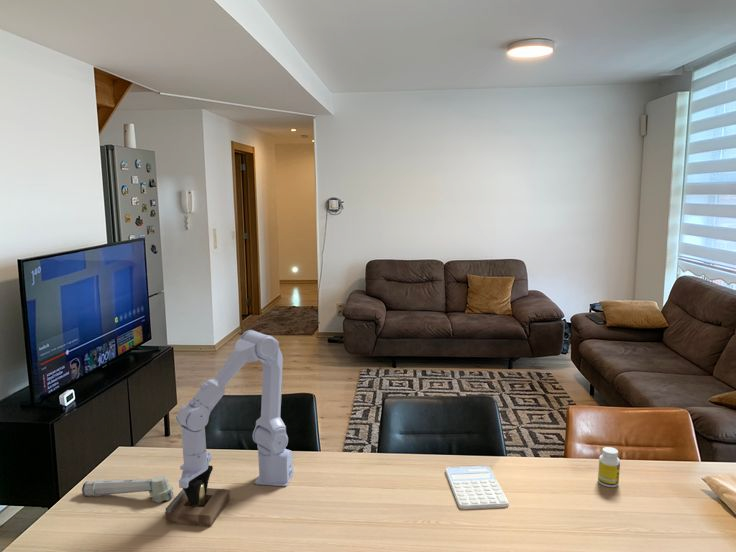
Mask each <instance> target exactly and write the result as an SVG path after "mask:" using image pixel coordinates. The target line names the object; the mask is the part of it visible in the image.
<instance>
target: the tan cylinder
mask: <svg viewBox="0 0 736 552" xmlns="http://www.w3.org/2000/svg"><path fill="white" fill-rule="evenodd" d="M189 506H192V507H204V506H205V492H204V482H202V484H201V487H200V493H199V503H198V505H190V503H189Z"/></svg>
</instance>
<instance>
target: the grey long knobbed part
mask: <svg viewBox="0 0 736 552" xmlns="http://www.w3.org/2000/svg"><path fill="white" fill-rule="evenodd" d="M173 491H174V486H173V484H171V483H169V481H168V478H167V476H166V475H159V476H156V477H154V478H145V479H142V478H141V479H137V478H136V479H99V478H97V479H96V480H87V481H85V482H84V483H83V484H82V487H81V493H82V495H83V496H84V497H96V498H98V497H100V496H107V495H108V496H110V495H120V494H130V493H142V492H148V493H149V496H150V497H151V499H152V501H153V502H155V503H156V504H157V503H158V504H159V503H162V502H163V501H169V500H171V499H173V497H174V492H173Z"/></svg>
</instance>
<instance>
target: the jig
mask: <svg viewBox="0 0 736 552" xmlns="http://www.w3.org/2000/svg"><path fill="white" fill-rule="evenodd" d="M181 489H182V490H180V492H179V493H178V494H177V495H175V497H174V498H173V500H172V501H170V503H169V504H168V505H167V506H166V508H165V512H164V515H165V517H164V518H165V523H166V524H172V525H173V524H174V525H184V526H196V527H212V526H213V524H214V523H215V521H216V520H217V519H218V517H219V516H220V514H221V513H222V512H223V510H224V509H225V507H226V506H227V504H229V501H230V499H231V498H230V489H224V488H210V487H207V492H206V495H205V506H204V507H192V506H189V500H188V498H187V495H186V493H185V491H184V490H183V488H181Z"/></svg>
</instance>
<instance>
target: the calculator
mask: <svg viewBox="0 0 736 552" xmlns="http://www.w3.org/2000/svg"><path fill="white" fill-rule="evenodd" d="M445 475H446V478H447V481H448V482H449V486H450V488H451V490H452V493H453V496H454V498H455V501H456V504H457V506H458V508H459V509H461V510H476V509H477V510H478V509H479V510H480V509H500V508H508V507H509V506H510V503H509V500H508V498H507V496H506V495H505V493H504V491H503V489H502V487H501V485H500V483H499V481H498V480H497V477H496V476H495V474H494V472H493V470H492V469H491V467H490V466H489V465H475V466H474V465H472V466H470V465H468V466H450V467H446V468H445Z"/></svg>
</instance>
